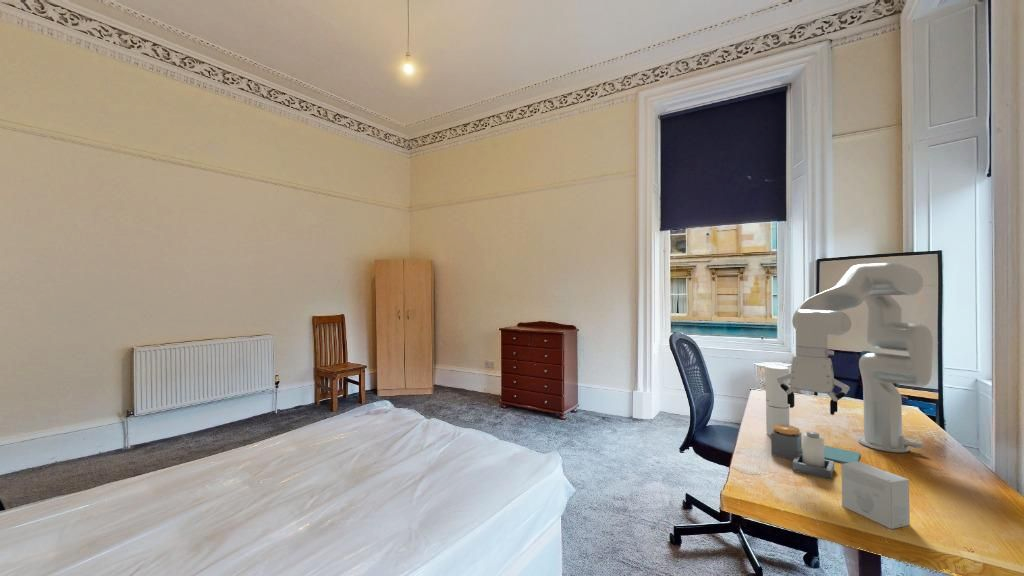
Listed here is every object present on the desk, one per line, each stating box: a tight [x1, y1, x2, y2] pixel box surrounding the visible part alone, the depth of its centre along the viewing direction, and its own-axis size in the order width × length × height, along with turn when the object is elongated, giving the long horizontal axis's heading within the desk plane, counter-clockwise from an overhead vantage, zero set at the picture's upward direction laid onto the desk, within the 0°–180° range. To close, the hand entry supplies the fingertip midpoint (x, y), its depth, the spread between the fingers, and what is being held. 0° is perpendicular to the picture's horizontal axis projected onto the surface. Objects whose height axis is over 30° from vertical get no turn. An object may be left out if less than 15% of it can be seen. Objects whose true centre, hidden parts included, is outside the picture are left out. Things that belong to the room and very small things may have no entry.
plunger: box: [773, 424, 801, 436], centre depth 128 cm, size 7×7×5 cm
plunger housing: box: [770, 430, 803, 461], centre depth 128 cm, size 7×7×7 cm
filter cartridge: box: [802, 430, 825, 468], centre depth 116 cm, size 5×5×11 cm
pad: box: [824, 444, 861, 464], centre depth 128 cm, size 14×12×1 cm
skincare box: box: [840, 460, 911, 530], centre depth 93 cm, size 10×6×10 cm, turn 17°
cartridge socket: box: [791, 453, 835, 481], centre depth 116 cm, size 9×9×2 cm
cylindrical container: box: [764, 364, 791, 436], centre depth 145 cm, size 7×7×25 cm
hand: (811, 410), depth 116 cm, fingers open, 9 cm apart
